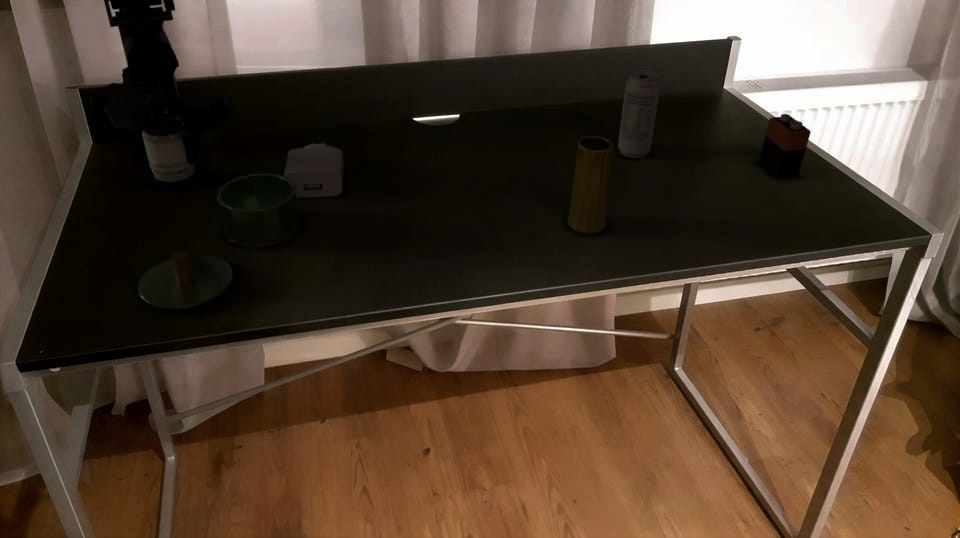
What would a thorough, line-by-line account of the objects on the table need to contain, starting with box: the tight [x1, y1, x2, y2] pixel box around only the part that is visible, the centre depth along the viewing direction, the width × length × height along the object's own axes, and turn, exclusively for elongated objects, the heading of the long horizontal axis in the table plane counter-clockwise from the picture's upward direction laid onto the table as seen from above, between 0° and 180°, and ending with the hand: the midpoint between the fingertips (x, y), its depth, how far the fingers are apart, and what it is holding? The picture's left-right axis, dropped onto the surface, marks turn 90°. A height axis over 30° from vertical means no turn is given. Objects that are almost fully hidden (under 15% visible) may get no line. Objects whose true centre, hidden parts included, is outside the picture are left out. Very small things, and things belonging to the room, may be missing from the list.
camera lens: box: [142, 118, 196, 182], centre depth 116 cm, size 6×6×8 cm
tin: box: [216, 172, 301, 249], centre depth 123 cm, size 12×12×6 cm
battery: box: [759, 113, 812, 180], centre depth 141 cm, size 4×7×10 cm, turn 14°
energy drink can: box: [617, 69, 661, 159], centre depth 145 cm, size 6×6×15 cm
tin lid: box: [137, 250, 234, 311], centre depth 111 cm, size 13×13×5 cm
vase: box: [566, 135, 614, 234], centre depth 123 cm, size 6×6×14 cm
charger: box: [283, 142, 345, 198], centre depth 138 cm, size 5×9×15 cm
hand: (172, 160), depth 117 cm, fingers closed on camera lens, 6 cm apart
